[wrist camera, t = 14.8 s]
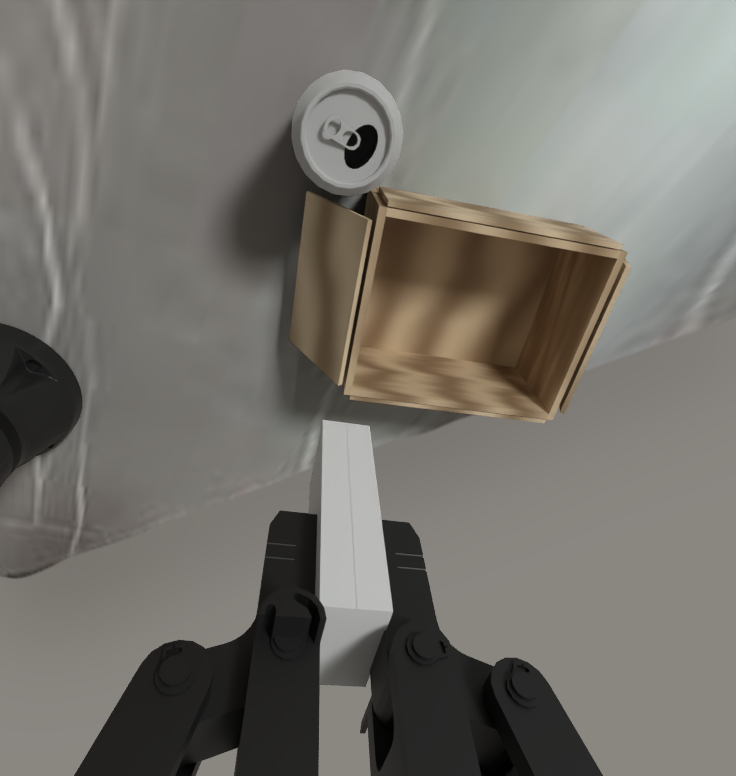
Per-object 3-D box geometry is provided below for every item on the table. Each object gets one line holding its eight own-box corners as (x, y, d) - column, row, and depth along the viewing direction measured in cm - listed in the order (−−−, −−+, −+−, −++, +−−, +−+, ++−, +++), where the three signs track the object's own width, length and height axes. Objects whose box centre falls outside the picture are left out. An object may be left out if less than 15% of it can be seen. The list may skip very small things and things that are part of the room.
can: (355, 195, 44) (364, 222, 34) (282, 143, 41) (267, 155, 31) (404, 116, 41) (430, 120, 31) (329, 56, 38) (330, 37, 28)
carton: (339, 351, 52) (342, 400, 43) (369, 180, 43) (380, 199, 35) (514, 375, 55) (550, 425, 46) (573, 220, 46) (630, 246, 38)
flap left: (338, 385, 42) (342, 384, 42) (367, 219, 35) (373, 219, 35) (289, 340, 48) (293, 339, 48) (306, 190, 41) (311, 191, 41)
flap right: (561, 375, 53) (556, 373, 53) (616, 247, 46) (610, 246, 46) (564, 413, 45) (558, 412, 45) (631, 267, 38) (624, 265, 38)
